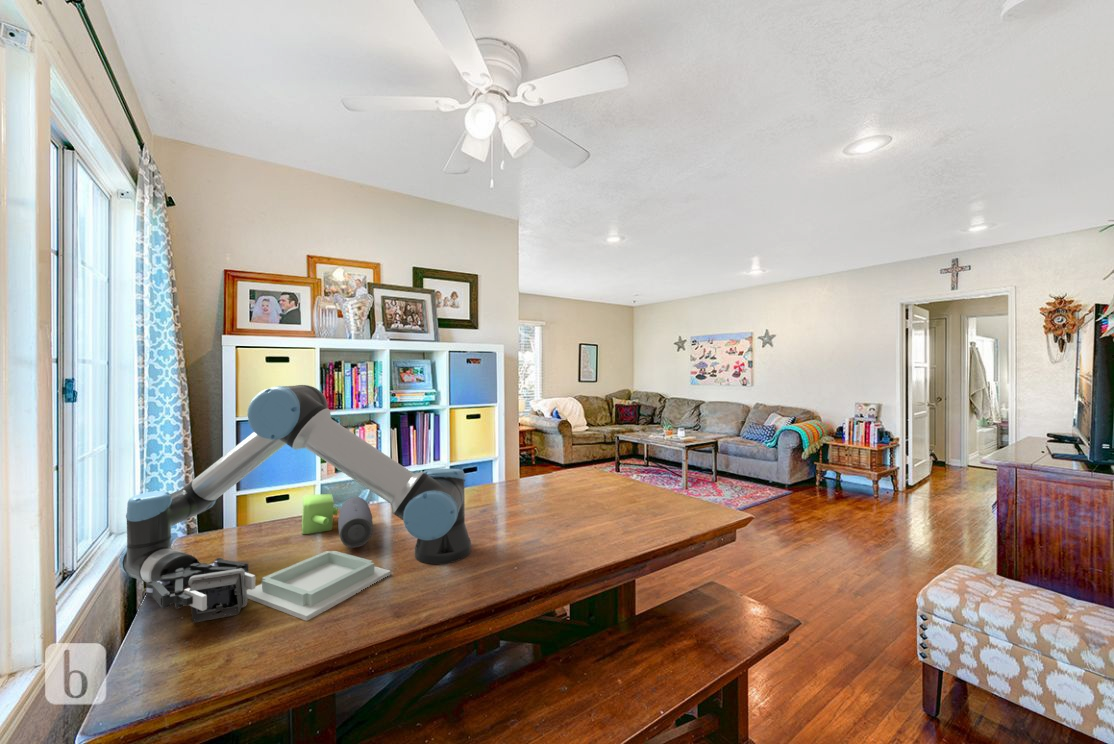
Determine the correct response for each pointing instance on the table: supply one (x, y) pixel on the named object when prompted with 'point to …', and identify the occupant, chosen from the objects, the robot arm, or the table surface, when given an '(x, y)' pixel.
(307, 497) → the gearbox
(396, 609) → the table surface
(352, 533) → the bluetooth speaker
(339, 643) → the table surface
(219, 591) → the electrical switch
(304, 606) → the pocket tray
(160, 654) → the table surface
